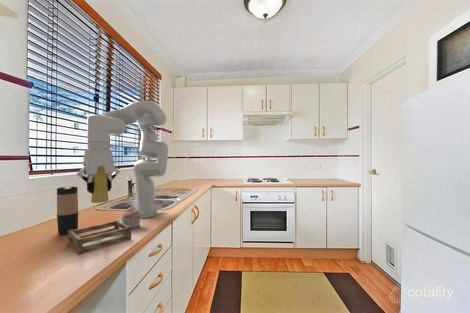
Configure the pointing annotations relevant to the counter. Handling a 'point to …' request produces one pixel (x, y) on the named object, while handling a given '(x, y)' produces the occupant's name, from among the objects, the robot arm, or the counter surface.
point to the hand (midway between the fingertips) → (99, 191)
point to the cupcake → (131, 217)
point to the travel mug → (67, 209)
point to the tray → (98, 236)
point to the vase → (100, 186)
